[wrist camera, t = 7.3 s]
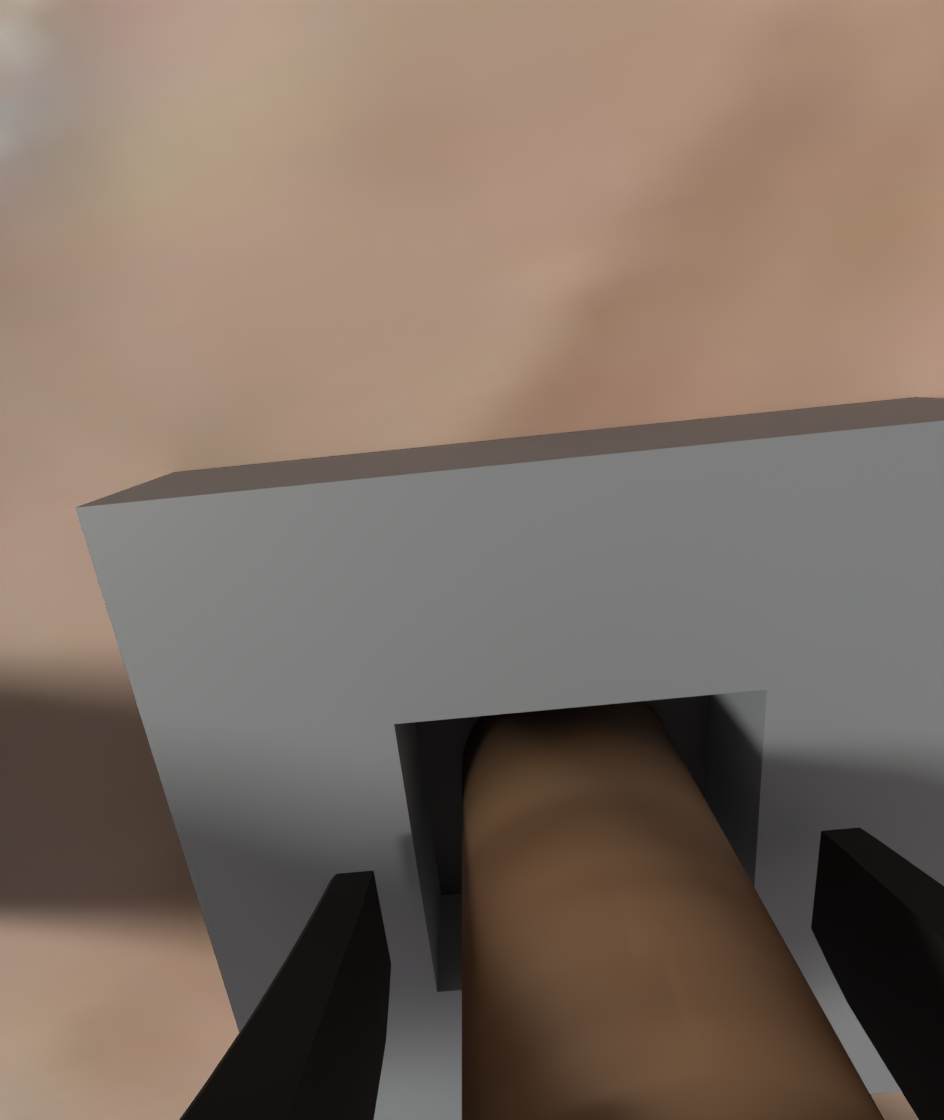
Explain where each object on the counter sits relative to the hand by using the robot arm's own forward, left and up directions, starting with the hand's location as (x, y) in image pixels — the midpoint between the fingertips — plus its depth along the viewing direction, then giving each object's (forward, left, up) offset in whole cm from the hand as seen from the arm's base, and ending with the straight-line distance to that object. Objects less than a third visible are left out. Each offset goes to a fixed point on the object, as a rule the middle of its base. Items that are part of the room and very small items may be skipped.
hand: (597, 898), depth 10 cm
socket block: (0, 0, -4) cm, 4 cm away
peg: (0, 0, -3) cm, 3 cm away
